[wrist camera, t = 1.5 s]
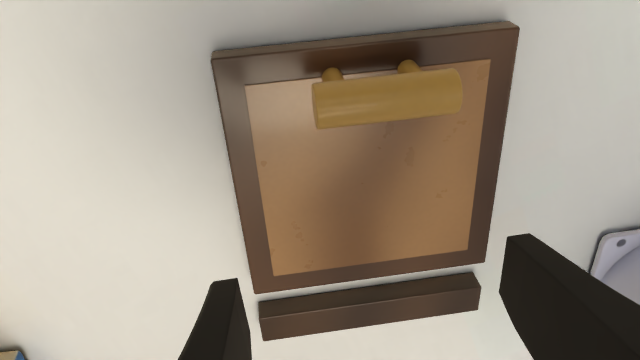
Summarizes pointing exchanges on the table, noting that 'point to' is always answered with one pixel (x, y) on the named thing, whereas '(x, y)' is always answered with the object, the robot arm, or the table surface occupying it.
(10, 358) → the stack of blocks
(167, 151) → the table surface
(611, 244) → the robot arm
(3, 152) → the table surface
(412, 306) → the frame stand
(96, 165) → the table surface
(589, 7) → the table surface
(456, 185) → the picture frame
